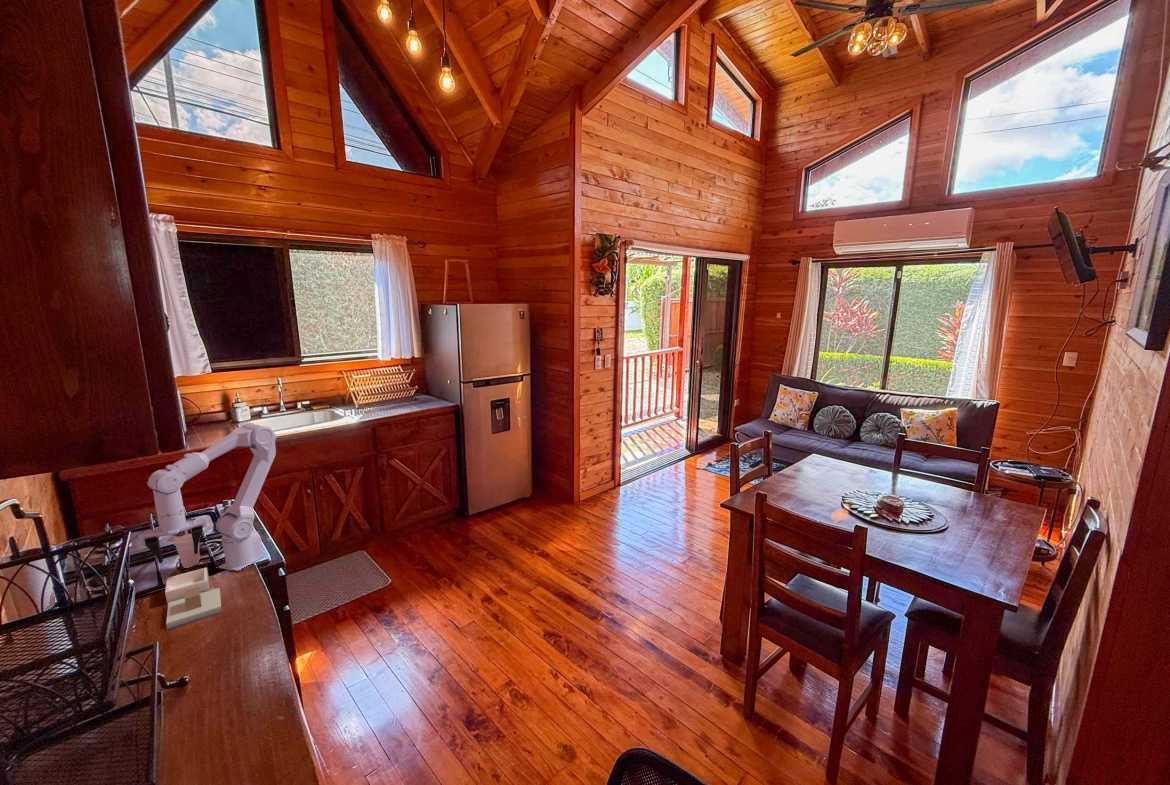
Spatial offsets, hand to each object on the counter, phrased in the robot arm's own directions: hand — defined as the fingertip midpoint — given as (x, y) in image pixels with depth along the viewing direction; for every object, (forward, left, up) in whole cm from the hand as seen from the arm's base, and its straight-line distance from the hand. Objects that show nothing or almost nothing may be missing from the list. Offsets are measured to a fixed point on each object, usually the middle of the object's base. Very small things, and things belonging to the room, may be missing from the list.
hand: (178, 557), depth 136 cm
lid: (+7, +13, -9) cm, 17 cm away
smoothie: (-9, -9, -10) cm, 16 cm away
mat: (+7, +13, -9) cm, 18 cm away
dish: (+1, +3, -9) cm, 10 cm away
